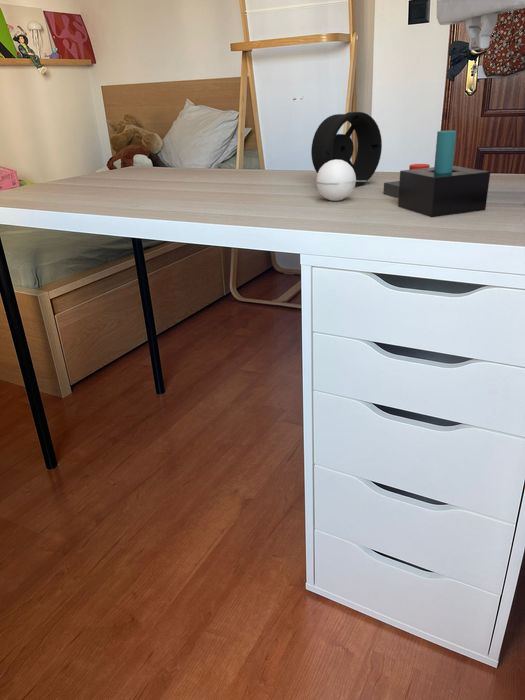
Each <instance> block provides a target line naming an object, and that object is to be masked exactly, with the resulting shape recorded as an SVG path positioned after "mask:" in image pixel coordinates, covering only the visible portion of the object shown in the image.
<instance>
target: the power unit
mask: <svg viewBox="0 0 525 700" xmlns="http://www.w3.org/2000/svg"><path fill="white" fill-rule="evenodd" d="M399 182H400V180H396V181H395V180H394V181H387V182H384V183H383V191H382V192H383V193H382V194H383V195H386V196H389V197H392V198H396V199H399Z"/></svg>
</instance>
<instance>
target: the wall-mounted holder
mask: <svg viewBox="0 0 525 700" xmlns="http://www.w3.org/2000/svg"><path fill="white" fill-rule="evenodd" d="M345 123H350V126H349V128H348V129H347V131H346V132H345V133H338V132H339V130H340V129H341V127H342V126H343V125H344V124H345ZM354 131H355V135H356V140H357V141H356V142H357V152H356V156H355V159H354V162H353V163H352V161H351V159H352V158H353V157H352V156H353V154H354V149H355V148H354V147H355V146H354V142H353V139H352V137H351V136H352V135H353V132H354ZM381 134H382V133H381V131H380V128H379V125H378V123H377V121H376V120H375V119H374V118H373V116H371V115H370V114H368V113H366V112H363V111H350V112H347V113H338V114H332V115H330V116H328V117H326V118H325V119H324V120H322V121H321V123H320V124H319V125H318V127H317V129H316V130H315V132H314V134H313V135H314V136H313V138H312V142H311V150H310V151H311V153H310V154H311V161H312V165H313V168H314V170H315V172H316V173H317V174H318V172H319V169H320V168H321V167H322V166H323V165H324V164H325V163H327V162H329V161H330V160H343V161H345V162H347V163H348V164H349V165H350V166H351V167H352V168H353V170H354V172H355V175H356V183H355V187H354V188H358V187H360V186H362V185H364V184H365V183H367V182H368V181H369V180H370V179H371V178H372V177H373V175H374V174H375V172H376V170H377V168H378V166H379V164H380V161H381V156H382V150H383V148H382V147H383V141H382V135H381ZM317 174H316V175H317Z"/></svg>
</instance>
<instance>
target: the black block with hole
mask: <svg viewBox="0 0 525 700" xmlns="http://www.w3.org/2000/svg"><path fill="white" fill-rule="evenodd" d="M490 178H491V171H487V170H483V169H477V168H476V169H475V168H469V167H464V166H457V165H453V168H452V172H451V173H442V174H440V173H435V172H434V166H433V167H429V168H422V169H412V170H409V169H404V170H400V171H399V181H400V182H399V198H397V199H398V200H397V207H398V208H401V209H404V210H407V211H411V212H413V213H416V214H419V215H422V216H426V217H429V218H437V217H444V216H452V215H459V214H468V213H475V212H483V211H486V208H487V200H488V193H489V187H490Z"/></svg>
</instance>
